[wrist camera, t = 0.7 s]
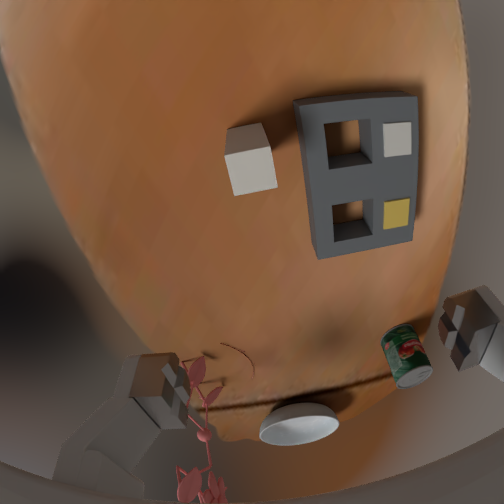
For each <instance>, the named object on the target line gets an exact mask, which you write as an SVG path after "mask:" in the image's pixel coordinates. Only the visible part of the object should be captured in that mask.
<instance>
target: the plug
mask: <svg viewBox="0 0 504 504" xmlns="http://www.w3.org/2000/svg"><path fill="white" fill-rule="evenodd" d="M224 156H225V160H226V164H227V168H228V172H229V176H230V180H231V184H232V188H233V192H234V196H237V195H242V194H247V193H252V192H257V191H262V190H267V189H272V188H278V186H277V181H276V175H275V169H274V164H273V158H272V153H271V148H270V144H269V142H268V139H267V136H266V134H265V131H264V129H263V126H262V123H256V124H251V125H246V126H241V127H236V128H231V129H227V134H226V144H225V154H224Z"/></svg>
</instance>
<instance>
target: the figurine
mask: <svg viewBox="0 0 504 504" xmlns="http://www.w3.org/2000/svg"><path fill="white" fill-rule="evenodd" d="M220 344H222V343H220ZM223 345H225V344H223ZM227 346H229V345H227ZM230 347H231V346H230ZM232 348H233V347H232ZM234 349H235V348H234ZM236 350H237V349H236ZM238 351H239V350H238ZM240 352H241V351H240ZM243 352H244V351H243ZM241 353H242V352H241ZM243 354H244V353H243ZM244 355H245V354H244ZM245 356H246V355H245ZM246 357H247V356H246ZM248 359H249V358H248ZM249 360H250V359H249ZM251 363H252V362H251ZM181 364H182V366H183V368H184V369H185V370H186V372H187V374H188V377H189V380H190V387H191V392H190V398H191V394H192V390H193V388H194V387H195V388H196V389H197V391H198V393H199V395H200V396H201V397H198V398H202V400H203V404H202V405H203V406H202V407H205V408H206V428H202V427H201V426H200V425H199V424H198V423H197V422H196V421H195V420H194V419H193V418H192V417H191V416H190V415H189V414H188V417H189V418H190V419H191V420H192V421H193V422H195V424H196V425H197V426H199V427H200V428H201V429H200V430H199V431H198V433H197V436H198V438H199V439H200V440H201V441H205V442H206V445H207V452H208V459H209V466H208V467H206V468H204V469H202V470H200V471H199V470H198V468H197V467H194V469H192V470H191V471H190V472H189V473H187V472H186V471H184V470H183V469H182V468H180V467H179V466H176V472H177V478H178V484H179V486H178V491H177V496H178V500H179V501H180V502H182V503H188V502H190V501H192V500H193V499H194V498H195V497H196V495H197V494H198V495H199V499H200V503H203V501H204V503H228V502H227V499H226V497H225V490H226V489H227V487H226V488H224V482H223V478H222V477H220V478H219V479H218V484H217V482H216V479H215V476H214V474H213V472H211V471H210V473H209V479H208V485H209V489H210V490H206V491H205V492H204V493H202V492H201V490H200V488H201V486H202V477H201V474H200V473H202V472H204V471H206V470H208V469H210V468H211V466H212V461H211V456H210V451H209V445H208V441H209V440H210V439H211V437H212V434H211V432H210V430H208V429H207V412H208V406H209V405H210V404H211V403H212V402H213V401H214V400H215V399H216V398H217V396H218V395H219V393H220V392H221V390H222V388H223V387H217V388H215V389H214V390H212V391H211V392H210V393H209V394H208V396H207V397H206V398H204V397H203V395H202V393H201V392H200V390H199V388H198V385H199V384H200V383H201V382H202V380H203V378H204V376H205V371H206V366H205V359H204V356H202V357H201V358H199V359H198V360H196V361H195V362H194V363H193V364H192V365H191V367H190V368H189V371H188V370H187V368H186V366H185V364H184V363H183V362H181ZM254 364H255V363H254ZM255 366H256V365H255ZM253 374H254V373H253ZM190 398H189V399H188V401H187V405H186V407H187V408H188V405H189V401H190ZM180 471H181V472H182V473H184V474H185V475H186V476H185V477H184V478H183V479H182V481H181V476H180ZM201 496H202V497H201ZM202 498H203V500H202Z"/></svg>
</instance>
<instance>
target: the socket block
mask: <svg viewBox="0 0 504 504" xmlns="http://www.w3.org/2000/svg"><path fill="white" fill-rule="evenodd" d="M293 106H294V112H295V118H296V125H297V131H298V137H299V144H300V151H301V158H302V165H303V172H304V180H305V188H306V196H307V204H308V212H309V221H310V230H311V240H312V245H313V247H314V250H315V253H316V256H317V259H318V260H319V259H325V258H330V257H335V256H340V255H345V254H350V253H355V252H360V251H365V250H370V249H375V248H379V247H384V246H389V245H394V244H399V243H404V242H408V241H412V238H413V230H414V220H415V209H416V196H417V179H418V147H419V129H418V97H417V96H415V95H412V94H409V93H406V92H403V91H388V92H369V93H355V94H343V95H333V96H324V97H315V98H307V99H300V100H293ZM351 120H358V122H359V134H360V149H361V152H360V153H353V154H345V155H338V156H331V157H327V148H326V139H325V131H324V124H326V123H333V122H342V121H351ZM361 200H363V220H357V221H352V222H346V223H341V224H335V225H333V216H332V205H337V204H343V203H349V202H355V201H361Z"/></svg>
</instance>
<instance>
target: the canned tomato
mask: <svg viewBox="0 0 504 504" xmlns="http://www.w3.org/2000/svg"><path fill="white" fill-rule="evenodd" d="M380 343H381V346H382V348H383V351H384V353H385V356H386V358H387V361H388V364H389V366H390V369H391V371H392V374H393V377H394V380H395V382H396V386H397V387H398V388H400V389H407V388H411V387H414V386H416V385H418V384H420V383H421V382H423V381H425V380H426V379H427V378H428V377H429V376H430V375H431V373H432V371H433V368H432V367H431V364H430V362H429V360H428V357H427V355H426V353H425V351H424V349H423V347H422V345H421V342H420V340H419V338H418V336H417V334H416V332H415V330H414V328H413V326H412V325H410V324H401V325H398V326H395V327H393V328H392V329H390V330H389V331H387V332H386V333H385V334H384V335H383V337H382V338H381V342H380Z"/></svg>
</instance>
